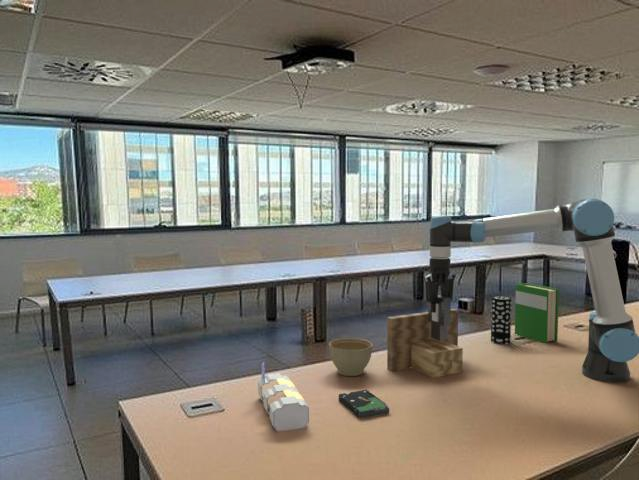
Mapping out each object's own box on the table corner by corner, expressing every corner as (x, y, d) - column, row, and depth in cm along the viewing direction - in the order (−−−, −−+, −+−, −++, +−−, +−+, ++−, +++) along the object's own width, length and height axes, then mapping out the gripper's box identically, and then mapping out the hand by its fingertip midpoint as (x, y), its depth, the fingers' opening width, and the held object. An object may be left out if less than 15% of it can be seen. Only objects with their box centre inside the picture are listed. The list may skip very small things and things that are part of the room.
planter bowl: (380, 376, 179) (380, 347, 178) (339, 382, 173) (339, 352, 172) (360, 363, 194) (360, 335, 193) (322, 368, 188) (322, 340, 187)
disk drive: (337, 402, 157) (359, 420, 144) (337, 394, 157) (359, 411, 144) (366, 397, 162) (390, 414, 148) (366, 389, 161) (390, 405, 148)
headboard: (452, 356, 201) (453, 308, 200) (480, 367, 187) (481, 316, 186) (387, 369, 187) (387, 317, 185) (412, 382, 173) (412, 326, 171)
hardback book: (557, 341, 221) (559, 289, 220) (545, 343, 218) (547, 290, 217) (526, 332, 237) (527, 283, 236) (514, 334, 234) (515, 284, 233)
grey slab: (433, 335, 188) (434, 294, 187) (449, 341, 180) (450, 298, 179) (427, 336, 187) (428, 294, 186) (443, 342, 179) (444, 298, 178)
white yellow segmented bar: (258, 398, 160) (257, 359, 159) (289, 395, 163) (288, 356, 162) (273, 433, 136) (272, 387, 135) (309, 428, 139) (308, 382, 138)
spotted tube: (486, 340, 225) (487, 296, 223) (502, 338, 227) (503, 295, 226) (498, 345, 217) (499, 300, 215) (514, 343, 219) (515, 299, 218)
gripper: (449, 255, 188) (448, 315, 190) (416, 257, 181) (415, 320, 183) (463, 257, 182) (462, 320, 183) (429, 259, 174) (428, 325, 176)
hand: (438, 320), depth 183 cm, fingers closed on grey slab, 3 cm apart
